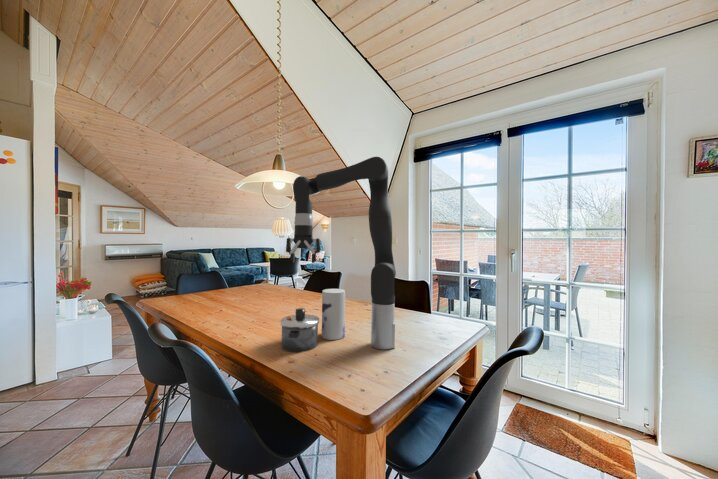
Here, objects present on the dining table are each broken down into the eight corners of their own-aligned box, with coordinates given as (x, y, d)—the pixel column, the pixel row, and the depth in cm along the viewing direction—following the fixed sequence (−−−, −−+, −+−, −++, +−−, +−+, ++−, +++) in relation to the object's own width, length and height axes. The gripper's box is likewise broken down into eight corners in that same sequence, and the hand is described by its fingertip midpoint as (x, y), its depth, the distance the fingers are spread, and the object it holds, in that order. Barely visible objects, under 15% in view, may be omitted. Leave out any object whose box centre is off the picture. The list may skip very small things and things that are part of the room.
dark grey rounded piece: (289, 335, 122) (290, 314, 122) (321, 336, 121) (321, 315, 121) (273, 355, 101) (273, 330, 101) (311, 356, 100) (312, 331, 100)
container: (316, 336, 121) (317, 290, 121) (334, 330, 129) (334, 287, 129) (332, 342, 115) (333, 293, 114) (349, 336, 122) (350, 290, 122)
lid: (321, 317, 119) (321, 305, 119) (316, 328, 104) (316, 314, 104) (286, 317, 118) (286, 304, 118) (275, 328, 103) (276, 314, 103)
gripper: (321, 225, 122) (321, 262, 122) (289, 224, 123) (289, 261, 123) (318, 224, 115) (318, 263, 115) (284, 223, 115) (283, 263, 115)
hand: (303, 262), depth 119 cm, fingers open, 8 cm apart
